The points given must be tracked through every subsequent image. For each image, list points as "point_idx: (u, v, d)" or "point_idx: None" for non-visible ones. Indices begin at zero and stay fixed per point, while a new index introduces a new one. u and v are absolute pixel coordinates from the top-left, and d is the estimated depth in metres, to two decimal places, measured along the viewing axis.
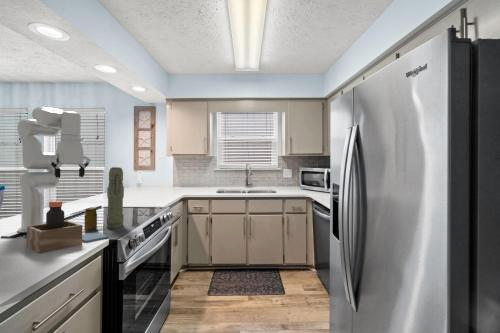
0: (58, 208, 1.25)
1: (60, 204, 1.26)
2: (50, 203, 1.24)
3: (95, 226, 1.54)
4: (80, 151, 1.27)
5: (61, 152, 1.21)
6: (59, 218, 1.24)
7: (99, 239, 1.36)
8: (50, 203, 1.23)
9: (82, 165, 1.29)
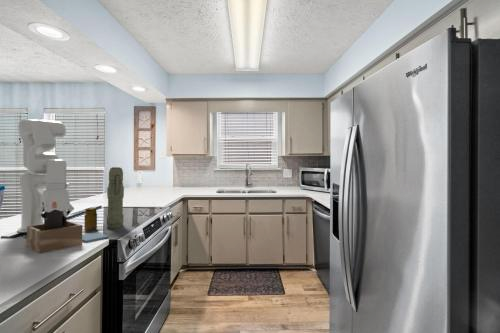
0: None
1: None
2: None
3: (95, 226, 1.54)
4: (66, 198, 1.27)
5: (46, 201, 1.21)
6: (56, 218, 1.23)
7: (99, 239, 1.36)
8: None
9: (64, 213, 1.28)
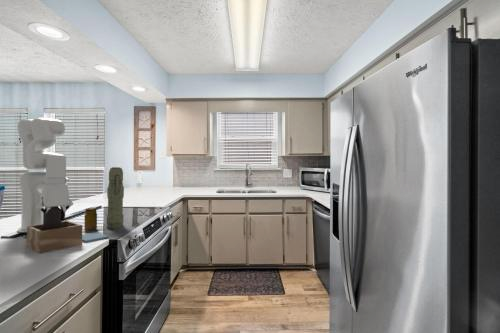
0: None
1: None
2: None
3: (95, 226, 1.54)
4: (65, 193, 1.27)
5: (46, 195, 1.21)
6: (55, 216, 1.24)
7: (99, 239, 1.36)
8: None
9: (63, 208, 1.28)
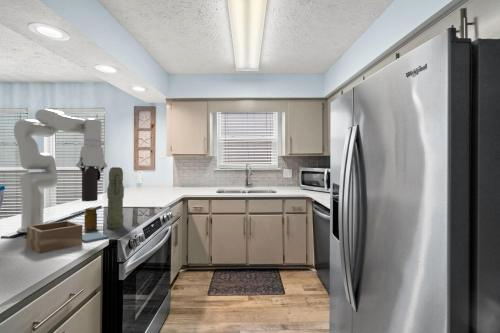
0: None
1: None
2: None
3: (95, 226, 1.54)
4: (101, 154, 1.40)
5: (85, 155, 1.34)
6: (93, 174, 1.36)
7: (99, 239, 1.36)
8: None
9: (99, 169, 1.40)
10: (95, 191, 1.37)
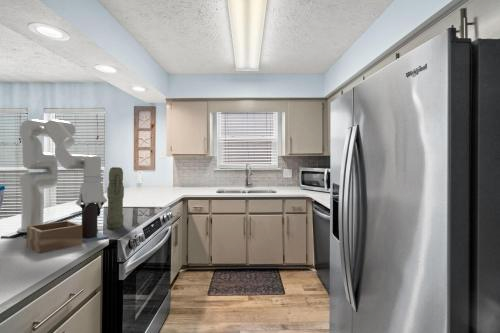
0: None
1: None
2: None
3: None
4: (101, 190, 1.40)
5: (84, 193, 1.34)
6: (93, 211, 1.36)
7: (99, 239, 1.36)
8: None
9: (99, 204, 1.40)
10: (95, 227, 1.37)
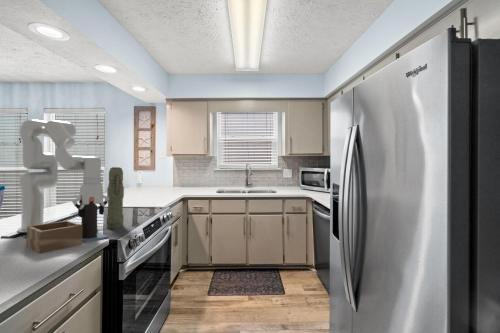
0: (91, 202, 1.36)
1: (93, 199, 1.37)
2: None
3: None
4: (100, 191, 1.40)
5: (84, 194, 1.34)
6: (92, 211, 1.36)
7: (99, 239, 1.36)
8: None
9: (102, 204, 1.42)
10: (94, 228, 1.37)
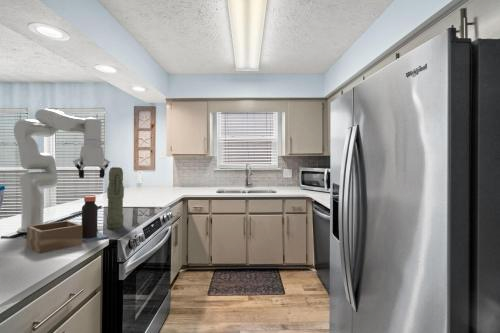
0: (92, 202, 1.37)
1: (93, 199, 1.37)
2: (85, 198, 1.36)
3: None
4: (101, 154, 1.40)
5: (85, 155, 1.34)
6: (92, 211, 1.36)
7: (99, 239, 1.36)
8: (85, 198, 1.35)
9: (102, 167, 1.42)
10: (94, 228, 1.37)
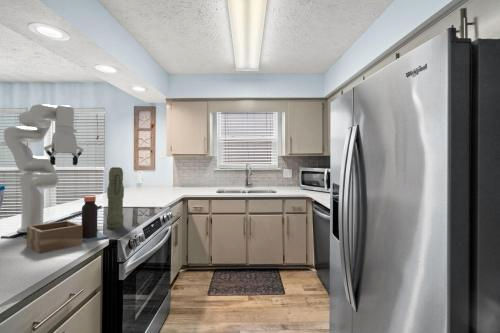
0: (92, 202, 1.36)
1: (93, 199, 1.37)
2: (85, 198, 1.36)
3: None
4: (73, 141, 1.40)
5: (56, 141, 1.34)
6: (92, 212, 1.36)
7: (99, 239, 1.36)
8: (85, 198, 1.35)
9: (75, 154, 1.42)
10: (94, 228, 1.37)
